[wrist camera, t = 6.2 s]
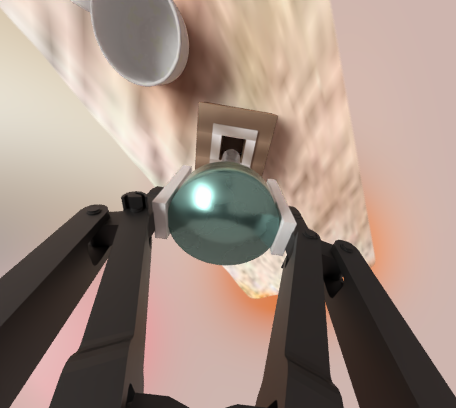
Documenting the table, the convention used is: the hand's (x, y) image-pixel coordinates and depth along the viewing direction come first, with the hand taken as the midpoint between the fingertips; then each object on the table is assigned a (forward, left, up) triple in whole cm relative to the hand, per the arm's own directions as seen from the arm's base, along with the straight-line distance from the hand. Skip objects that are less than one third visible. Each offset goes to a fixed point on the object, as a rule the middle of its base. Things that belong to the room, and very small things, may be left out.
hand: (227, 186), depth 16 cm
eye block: (0, 0, -21) cm, 21 cm away
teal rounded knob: (0, 0, -9) cm, 9 cm away
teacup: (-13, -15, -21) cm, 29 cm away
